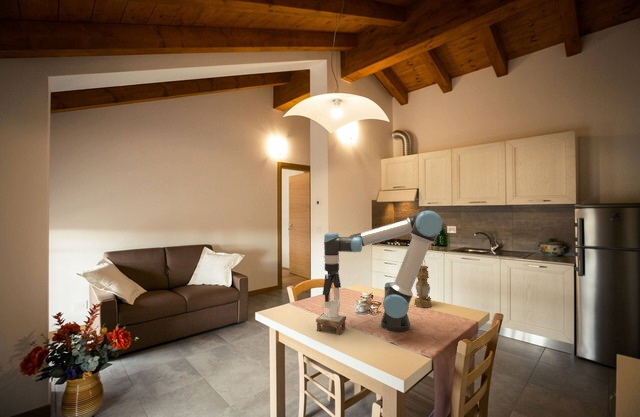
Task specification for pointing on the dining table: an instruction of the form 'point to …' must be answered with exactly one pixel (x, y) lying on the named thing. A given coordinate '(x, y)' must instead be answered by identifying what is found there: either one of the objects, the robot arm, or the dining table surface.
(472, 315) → the dining table surface
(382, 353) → the dining table surface
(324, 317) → the felt pad
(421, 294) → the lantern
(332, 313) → the cup
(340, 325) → the footstool
